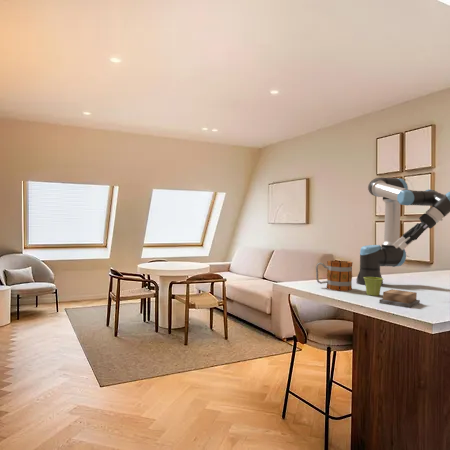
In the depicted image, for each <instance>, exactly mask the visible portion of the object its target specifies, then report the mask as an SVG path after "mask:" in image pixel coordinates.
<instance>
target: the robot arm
mask: <svg viewBox="0 0 450 450" xmlns="http://www.w3.org/2000/svg"><path fill="white" fill-rule="evenodd" d="M367 190H368V192H369V194H370V195H371V196H374V197H378V198H379V197H380V198H382V201H383V202H384V235H383V239H384V240H383V242H382V243H381V244H369V245H363V246H361V247H360V249H359V271H358V274H357V277H356V281H355V282H356V284H360V285H363V286H364V285H365V280H364V277H378V278H383V276H382V273H381V267H392V268H393V267H394V268H395V267H401V266H403V264H405V262H406V259H407V252H406V248H408V246H409V245H410V244H411V243H412V242H414V241H417V240H418V238H420V236H421V235H423V233H424V232H425V231H426V230H427V229H433V227H435V226H436V225H437V224H438V223H440V221H441V222H442V221H443V219H444V218H445V217H446V216H448V215H449V214H450V191H448V192H446V193H445V194H443V193H441V192H438V191H436V190H433V189H426V190H414V189H413V190H411V189H409V187H408V183H407V182H406V180H404V179H403V178H398V177H376V178H372V180H371V181H369V184H368V186H367ZM401 206H424V207H425V206H426V207H427V206H429V207H430V208H428V209H427V210H426V211H425V213H423V214H422V215H420V216H419V218H418V219H419V221H420V222H419V223H416V224H415V225H414V226H412V227H411V228H409V230H407V231H406V232H404V233H403V234H402V236H401V235H400V234H401V233H400V231H401V230H400V229H401ZM400 236H401V237H400ZM383 280H384V279H383ZM383 280H382V283H381V286H383V285H384V281H383ZM365 286H366V285H365Z"/></svg>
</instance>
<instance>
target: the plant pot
mask: <svg viewBox="0 0 450 450" xmlns="http://www.w3.org/2000/svg"><path fill="white" fill-rule="evenodd" d="M364 280H365V292H366V295H367V296H372V297H373V296H374V297H375V296H376V297H378V296H380V294H381V287H382V285H381V283H382V280H384V278H383V277H382V278H378V277H364Z"/></svg>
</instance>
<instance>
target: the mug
mask: <svg viewBox="0 0 450 450" xmlns="http://www.w3.org/2000/svg"><path fill="white" fill-rule="evenodd" d="M326 264H327V265H325V264H324V263H322V262H321V261H320V262H318V263H317V264H316V266H315V277H316V281H317V283H318V284H320V285H322V284H326V289H329V291H330V290H331V291H339V292H343V291H344V292H349V291H351V290H352V289H353V287H352V286H353V285H352V281H353V268H352V267H353V262H352V261H348V260H327V263H326ZM320 265H321V266H322V267H323V268H325V269H327V270H326V280H323V281H320V279H319V266H320Z"/></svg>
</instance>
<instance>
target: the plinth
mask: <svg viewBox="0 0 450 450" xmlns="http://www.w3.org/2000/svg"><path fill="white" fill-rule="evenodd" d="M417 297H418V296H417V291H416V292H414V291H408V290H402V289H401V290H400V289H392V288H391V289H388V290H385V291H383V292H382V298H381V299H379V302H378V303H379V304H382V305H383V304H385V305H391V306H397V307H398V306H399V307H402V308H403V307H404V308H411V307H414V306H417V305H419V304H420V303H421V301H420V299H417Z"/></svg>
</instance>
